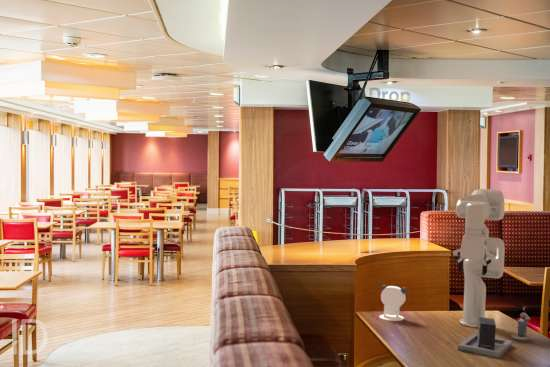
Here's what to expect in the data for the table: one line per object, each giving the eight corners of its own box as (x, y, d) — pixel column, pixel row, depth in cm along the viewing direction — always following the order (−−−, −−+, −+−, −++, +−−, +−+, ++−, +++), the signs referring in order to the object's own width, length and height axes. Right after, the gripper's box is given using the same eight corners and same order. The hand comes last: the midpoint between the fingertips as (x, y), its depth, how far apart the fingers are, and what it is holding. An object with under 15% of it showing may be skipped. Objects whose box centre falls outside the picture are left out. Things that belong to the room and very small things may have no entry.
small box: (495, 350, 261) (496, 324, 261) (478, 349, 263) (479, 323, 262) (493, 343, 271) (494, 318, 271) (476, 341, 273) (478, 316, 272)
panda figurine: (407, 316, 314) (408, 285, 313) (402, 322, 303) (404, 290, 302) (382, 313, 318) (383, 282, 317) (377, 319, 307) (378, 287, 306)
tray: (473, 338, 280) (473, 333, 280) (511, 346, 271) (512, 340, 271) (457, 350, 263) (458, 344, 263) (498, 358, 254) (499, 352, 254)
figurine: (534, 339, 281) (535, 311, 281) (529, 344, 274) (530, 315, 274) (514, 335, 286) (515, 308, 286) (508, 340, 279) (509, 312, 279)
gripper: (497, 233, 274) (495, 274, 275) (456, 229, 284) (454, 269, 285) (492, 235, 268) (490, 277, 269) (451, 231, 277) (449, 271, 278)
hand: (472, 273), depth 277 cm, fingers open, 9 cm apart
